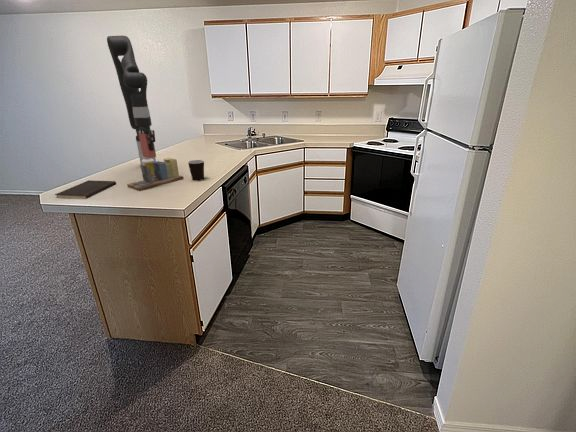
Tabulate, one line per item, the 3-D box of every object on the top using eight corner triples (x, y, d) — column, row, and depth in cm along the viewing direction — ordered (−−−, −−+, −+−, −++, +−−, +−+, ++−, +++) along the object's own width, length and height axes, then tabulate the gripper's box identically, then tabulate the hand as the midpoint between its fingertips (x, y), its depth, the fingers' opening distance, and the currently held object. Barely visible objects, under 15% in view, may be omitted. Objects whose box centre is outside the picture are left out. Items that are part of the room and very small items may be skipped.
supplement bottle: (159, 176, 181) (155, 154, 176) (149, 178, 176) (145, 156, 171) (152, 174, 184) (148, 153, 179) (142, 177, 179) (137, 155, 174)
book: (143, 156, 162) (138, 133, 157) (150, 155, 165) (145, 132, 160) (149, 158, 159) (144, 134, 154) (156, 156, 162) (152, 133, 157)
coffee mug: (201, 181, 170) (199, 163, 166) (187, 180, 172) (185, 163, 168) (210, 175, 181) (208, 159, 177) (197, 175, 182) (195, 158, 178)
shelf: (127, 186, 162) (123, 166, 158) (170, 175, 181) (167, 157, 177) (139, 191, 156) (135, 170, 151) (183, 179, 175) (180, 160, 170)
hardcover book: (56, 198, 148) (54, 194, 147) (89, 184, 169) (88, 180, 168) (87, 200, 146) (85, 195, 146) (116, 185, 167) (115, 181, 166)
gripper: (127, 116, 155) (134, 149, 162) (142, 117, 147) (149, 152, 154) (141, 114, 161) (147, 147, 167) (157, 116, 153) (162, 150, 159)
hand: (148, 149), depth 161 cm, fingers closed on book, 6 cm apart
